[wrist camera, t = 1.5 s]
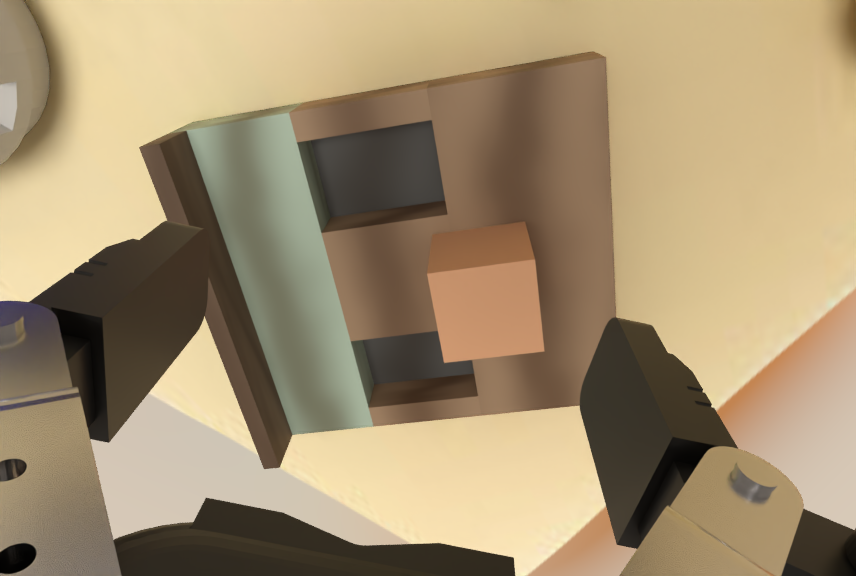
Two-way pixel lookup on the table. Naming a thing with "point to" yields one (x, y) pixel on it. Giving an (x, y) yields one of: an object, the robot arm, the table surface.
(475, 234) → the block
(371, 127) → the track
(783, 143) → the table surface
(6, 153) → the flag stand
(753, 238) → the table surface
